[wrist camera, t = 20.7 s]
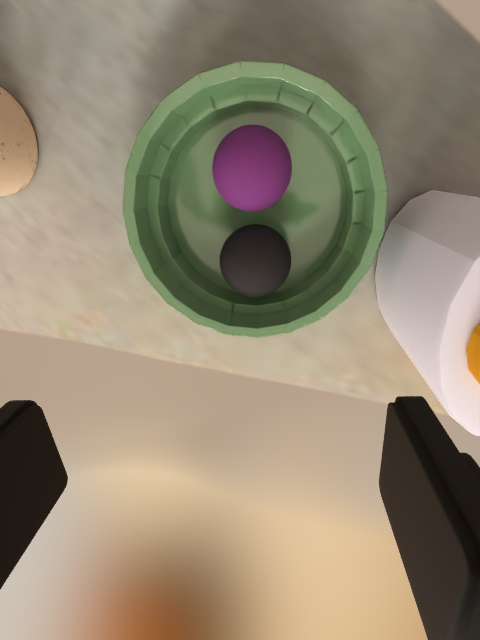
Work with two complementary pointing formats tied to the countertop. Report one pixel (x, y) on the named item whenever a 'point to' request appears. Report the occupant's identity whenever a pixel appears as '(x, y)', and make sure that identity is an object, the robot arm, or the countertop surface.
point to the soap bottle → (436, 296)
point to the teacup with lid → (15, 146)
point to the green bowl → (284, 216)
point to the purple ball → (252, 168)
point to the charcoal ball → (255, 260)
